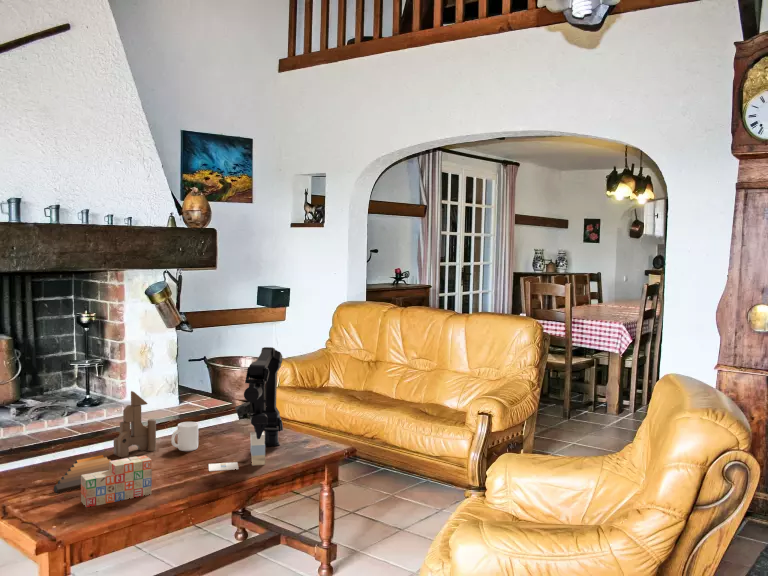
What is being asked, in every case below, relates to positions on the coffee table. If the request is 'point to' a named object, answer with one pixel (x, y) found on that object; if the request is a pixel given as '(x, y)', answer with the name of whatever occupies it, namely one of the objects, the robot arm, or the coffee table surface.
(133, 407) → the wooden toy
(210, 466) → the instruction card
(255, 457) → the beech brick
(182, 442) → the mug
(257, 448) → the blue brick
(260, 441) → the cream brick
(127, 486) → the stack of blocks
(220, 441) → the coffee table surface
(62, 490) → the pan flute
